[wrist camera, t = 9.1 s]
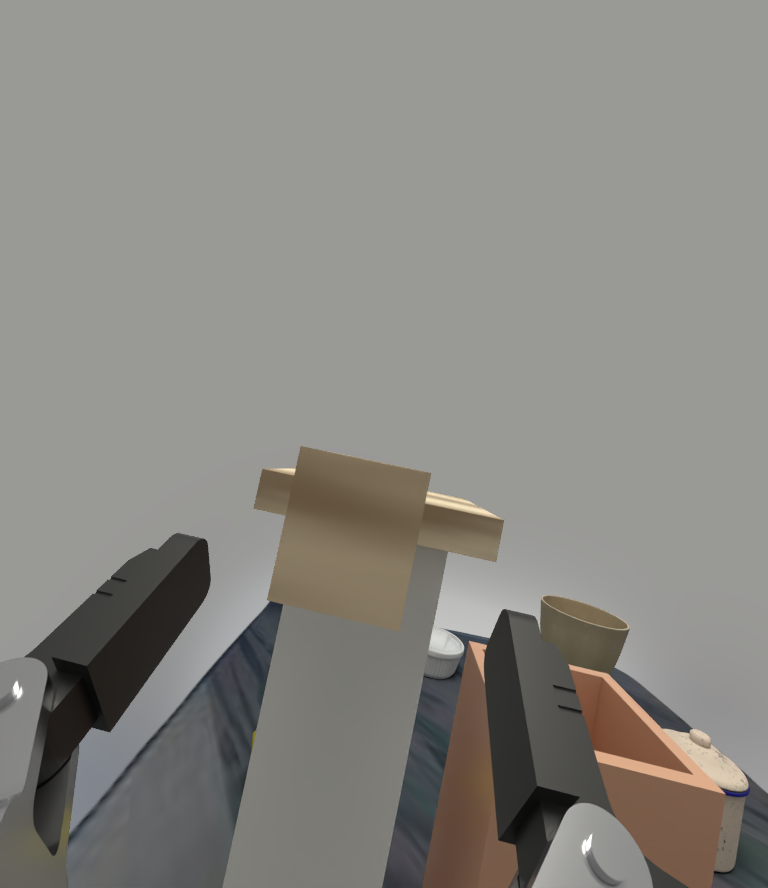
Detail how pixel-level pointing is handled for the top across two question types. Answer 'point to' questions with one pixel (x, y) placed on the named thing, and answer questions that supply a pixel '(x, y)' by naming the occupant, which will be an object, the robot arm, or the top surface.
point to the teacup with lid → (727, 781)
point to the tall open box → (624, 775)
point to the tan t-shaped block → (362, 533)
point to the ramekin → (443, 654)
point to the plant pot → (583, 633)
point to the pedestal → (333, 744)
